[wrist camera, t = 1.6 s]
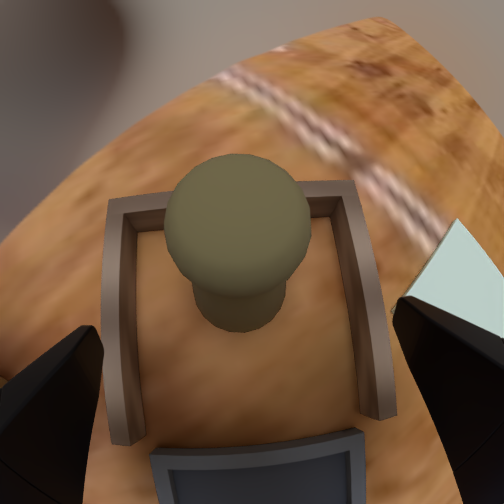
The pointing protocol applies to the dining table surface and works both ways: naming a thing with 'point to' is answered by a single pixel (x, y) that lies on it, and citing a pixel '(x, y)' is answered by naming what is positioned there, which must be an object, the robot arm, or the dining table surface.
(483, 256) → the sage pad
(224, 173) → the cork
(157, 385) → the dining table surface
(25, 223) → the dining table surface
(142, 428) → the frame
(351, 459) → the tray
